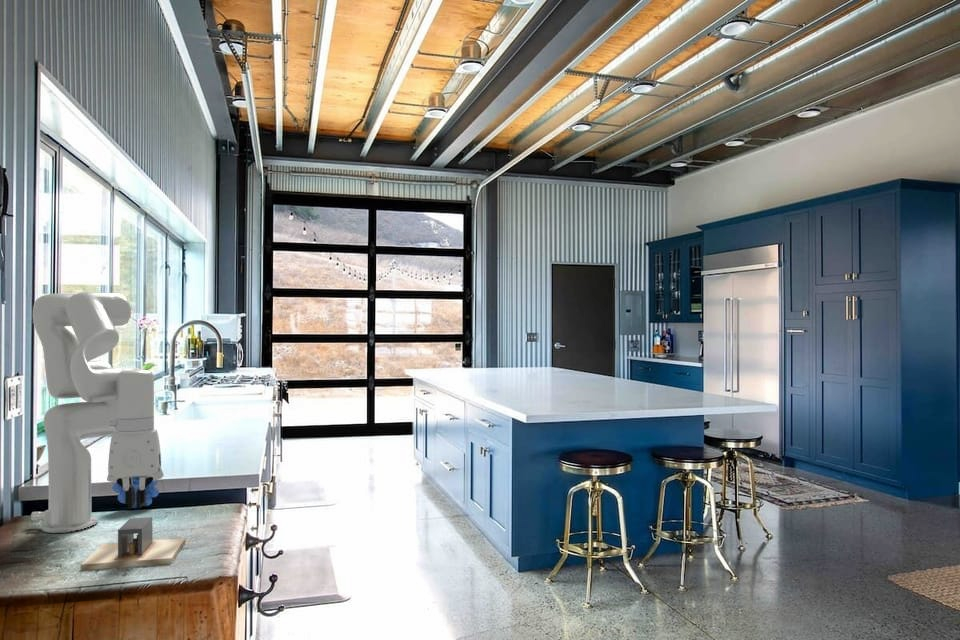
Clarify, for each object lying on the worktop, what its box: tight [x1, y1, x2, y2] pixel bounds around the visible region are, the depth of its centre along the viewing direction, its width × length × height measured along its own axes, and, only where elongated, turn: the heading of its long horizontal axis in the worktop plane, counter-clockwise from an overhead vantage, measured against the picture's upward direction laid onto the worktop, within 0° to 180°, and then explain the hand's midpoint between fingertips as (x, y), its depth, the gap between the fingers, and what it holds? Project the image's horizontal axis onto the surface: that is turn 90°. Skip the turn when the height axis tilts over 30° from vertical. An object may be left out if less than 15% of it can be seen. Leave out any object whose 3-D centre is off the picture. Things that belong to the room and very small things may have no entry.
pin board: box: [80, 534, 186, 571], centre depth 154 cm, size 18×14×4 cm
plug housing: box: [117, 516, 153, 558], centre depth 154 cm, size 5×9×6 cm, turn 12°
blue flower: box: [112, 476, 160, 509], centre depth 193 cm, size 12×7×12 cm, turn 119°
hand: (135, 506), depth 154 cm, fingers closed
